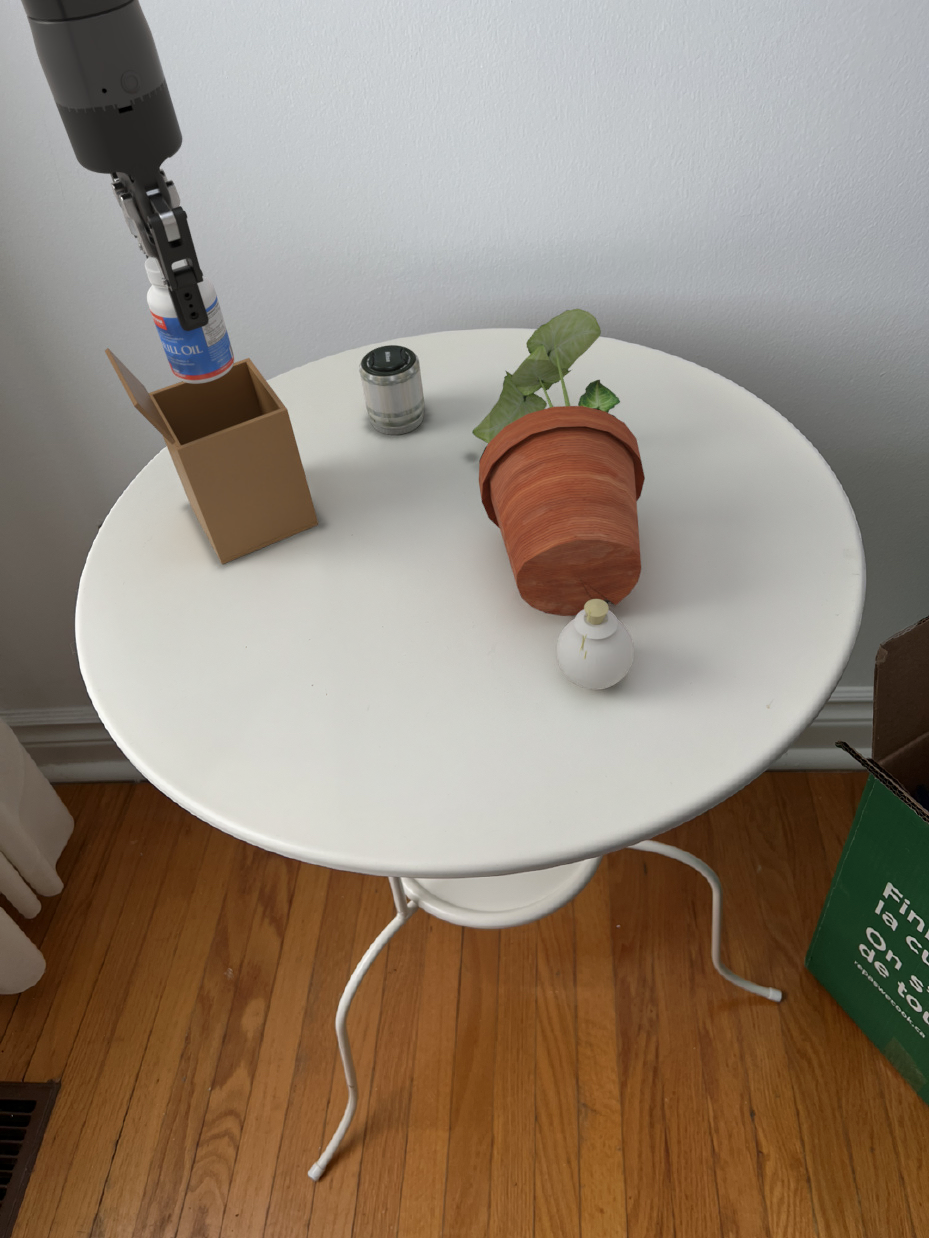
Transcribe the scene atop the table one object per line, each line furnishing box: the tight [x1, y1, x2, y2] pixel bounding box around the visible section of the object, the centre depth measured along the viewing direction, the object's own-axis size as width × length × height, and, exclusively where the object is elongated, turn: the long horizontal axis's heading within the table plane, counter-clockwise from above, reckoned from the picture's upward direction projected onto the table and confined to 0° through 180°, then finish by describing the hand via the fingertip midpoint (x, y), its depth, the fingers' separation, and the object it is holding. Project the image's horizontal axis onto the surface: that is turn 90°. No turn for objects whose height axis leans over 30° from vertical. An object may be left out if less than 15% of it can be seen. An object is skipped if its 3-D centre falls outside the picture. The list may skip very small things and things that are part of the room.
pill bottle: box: [144, 257, 235, 384], centre depth 75 cm, size 6×5×10 cm
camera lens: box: [358, 344, 425, 436], centre depth 97 cm, size 6×6×8 cm
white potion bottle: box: [555, 599, 635, 691], centre depth 70 cm, size 6×7×10 cm
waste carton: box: [148, 357, 319, 565], centre depth 86 cm, size 10×10×14 cm
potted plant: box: [471, 308, 646, 617], centre depth 84 cm, size 16×15×35 cm
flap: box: [104, 347, 175, 445], centre depth 78 cm, size 5×10×1 cm
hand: (184, 310), depth 75 cm, fingers closed on pill bottle, 5 cm apart
